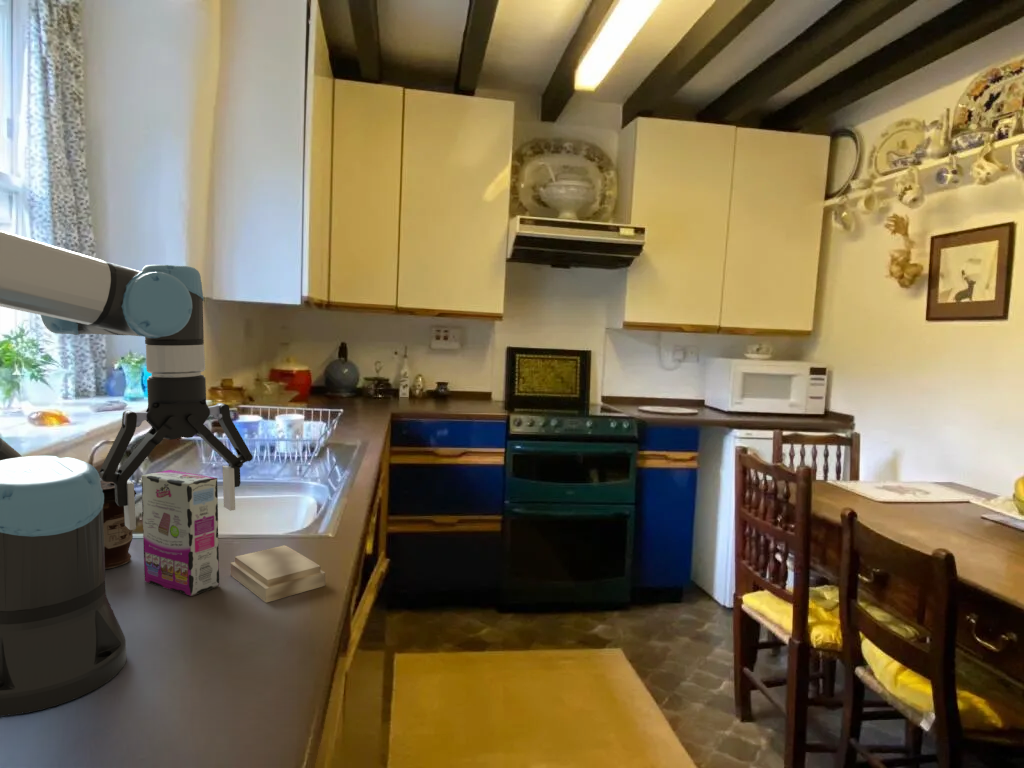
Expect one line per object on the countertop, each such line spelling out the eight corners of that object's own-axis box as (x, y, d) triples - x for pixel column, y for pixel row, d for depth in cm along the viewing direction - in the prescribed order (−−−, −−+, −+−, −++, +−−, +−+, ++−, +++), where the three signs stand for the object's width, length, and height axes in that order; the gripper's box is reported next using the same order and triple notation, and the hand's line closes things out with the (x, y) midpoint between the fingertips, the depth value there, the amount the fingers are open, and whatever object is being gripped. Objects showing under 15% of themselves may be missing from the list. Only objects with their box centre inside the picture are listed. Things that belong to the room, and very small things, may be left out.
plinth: (265, 602, 90) (265, 581, 90) (230, 575, 99) (230, 556, 99) (325, 585, 96) (325, 566, 96) (286, 561, 106) (286, 543, 105)
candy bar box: (222, 585, 96) (219, 477, 94) (191, 598, 91) (188, 484, 90) (173, 571, 101) (170, 467, 99) (142, 582, 96) (138, 474, 95)
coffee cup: (152, 555, 107) (149, 478, 106) (116, 574, 99) (113, 491, 98) (103, 552, 108) (99, 476, 107) (63, 571, 100) (59, 489, 98)
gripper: (252, 368, 104) (256, 496, 107) (68, 376, 87) (76, 529, 89) (272, 371, 99) (275, 506, 101) (79, 381, 82) (88, 543, 84)
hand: (182, 517), depth 95 cm, fingers open, 13 cm apart
